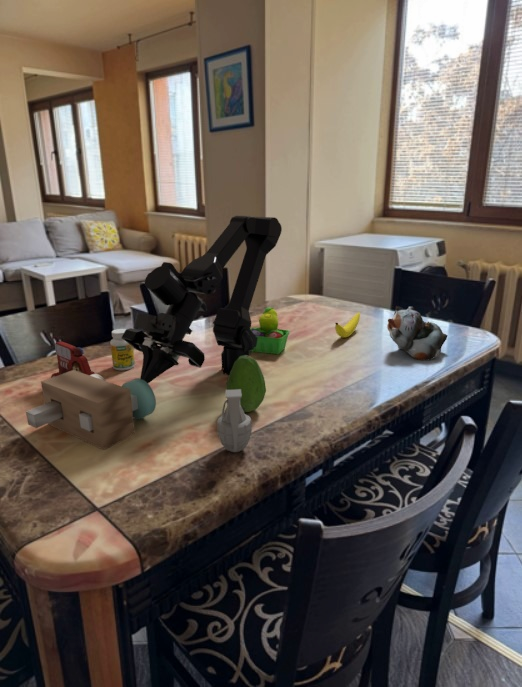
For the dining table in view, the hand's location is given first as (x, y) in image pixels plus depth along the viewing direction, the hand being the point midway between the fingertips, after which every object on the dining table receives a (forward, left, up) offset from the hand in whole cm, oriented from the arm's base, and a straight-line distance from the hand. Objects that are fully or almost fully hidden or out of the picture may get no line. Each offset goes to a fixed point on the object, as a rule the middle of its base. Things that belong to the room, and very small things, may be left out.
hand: (142, 384), depth 97 cm
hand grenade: (-20, +12, -7) cm, 24 cm away
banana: (-44, -56, -7) cm, 72 cm away
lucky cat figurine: (-61, -42, -7) cm, 74 cm away
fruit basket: (-21, -42, -7) cm, 48 cm away
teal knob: (+4, +6, -6) cm, 9 cm away
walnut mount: (+9, +7, -7) cm, 14 cm away
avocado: (-20, -4, -7) cm, 22 cm away
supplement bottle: (+14, -26, -7) cm, 30 cm away
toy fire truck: (+20, -12, -7) cm, 24 cm away
